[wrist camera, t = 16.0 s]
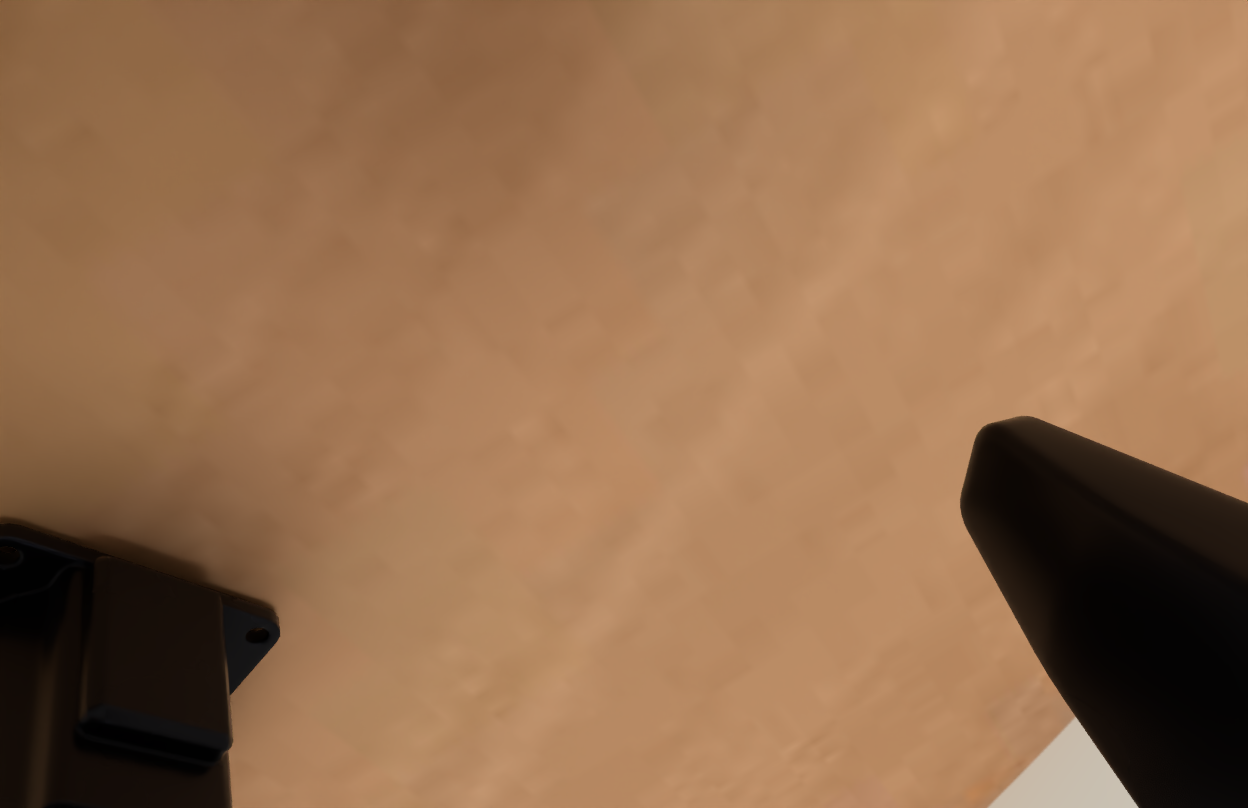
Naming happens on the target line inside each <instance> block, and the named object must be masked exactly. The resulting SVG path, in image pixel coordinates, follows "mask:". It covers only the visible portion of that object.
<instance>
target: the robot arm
mask: <svg viewBox="0 0 1248 808" xmlns="http://www.w3.org/2000/svg"><path fill="white" fill-rule="evenodd" d="M960 508H961V514H962V518H963V521H964V524H965V526H966V528H967V530H968V532H969V534H970V536H971V537H972V539H973V541H974V543H975V545H976V547H977V548H978V550H979V552H980V554H981V556H982V557H983V559H984V561H985V563H986V565H987V567H988V568H989V570H990V572H991V574H992V576H993V577H994V579H995V581H996V583H997V585H998V587H999V588H1000V590H1001V592H1002V594H1003V596H1004V597H1005V599H1006V601H1007V603H1008V605H1009V607H1010V608H1011V610H1012V612H1013V614H1014V616H1015V618H1016V619H1017V621H1018V623H1019V625H1020V627H1021V628H1022V630H1023V632H1024V634H1025V636H1026V638H1027V639H1028V641H1029V643H1030V645H1031V647H1032V648H1033V650H1034V652H1035V654H1036V655H1037V657H1038V659H1039V660H1040V662H1041V664H1042V666H1043V667H1044V669H1045V671H1046V672H1047V674H1048V676H1049V677H1050V679H1051V680H1052V682H1053V683H1054V685H1055V686H1056V688H1057V689H1058V691H1059V693H1060V694H1061V696H1062V697H1063V699H1064V700H1065V702H1066V703H1067V705H1068V706H1069V707H1070V709H1071V710H1072V712H1073V713H1074V715H1075V716H1076V718H1077V719H1078V720H1079V722H1080V723H1081V725H1082V726H1083V728H1084V729H1085V731H1086V732H1087V734H1088V735H1089V736H1090V738H1091V739H1092V741H1093V742H1094V743H1095V745H1096V746H1097V748H1098V749H1099V751H1100V752H1101V754H1102V755H1103V757H1104V758H1105V760H1106V761H1107V762H1108V764H1109V765H1110V767H1111V768H1112V770H1113V771H1114V773H1115V774H1116V775H1117V777H1118V778H1119V780H1120V781H1121V783H1122V784H1123V785H1124V787H1125V789H1126V790H1127V791H1128V793H1129V794H1130V796H1131V797H1132V799H1133V800H1134V802H1135V803H1136V804H1137V806H1138V807H1139V808H1248V503H1246V502H1244V501H1241V500H1239V499H1236V498H1234V497H1231V496H1229V495H1226V494H1224V493H1221V492H1219V491H1216V490H1214V489H1211V488H1209V487H1206V486H1204V485H1201V484H1199V483H1196V482H1194V481H1191V480H1189V479H1186V478H1184V477H1181V476H1179V475H1176V474H1174V473H1171V472H1169V471H1167V470H1164V469H1162V468H1159V467H1157V466H1154V465H1152V464H1149V463H1147V462H1144V461H1142V460H1139V459H1137V458H1134V457H1132V456H1129V455H1127V454H1124V453H1122V452H1119V451H1117V450H1114V449H1112V448H1109V447H1107V446H1104V445H1102V444H1099V443H1097V442H1094V441H1092V440H1090V439H1087V438H1085V437H1082V436H1080V435H1077V434H1075V433H1072V432H1070V431H1067V430H1065V429H1062V428H1060V427H1057V426H1055V425H1052V424H1050V423H1047V422H1045V421H1042V420H1040V419H1037V418H1034V417H1030V416H1019V417H1015V418H1011V419H1007V420H1002V421H998V422H994V423H990V424H987V425H986V426H984V427H983V428H982V429H981V430H980V431H979V432H978V434H977V436H976V438H975V441H974V445H973V449H972V453H971V457H970V461H969V465H968V469H967V473H966V477H965V481H964V484H963V488H962V492H961V498H960ZM0 547H12V548H14V549H16V550H17V551H15V552H10V553H5V552H0V808H232V796H231V782H230V768H229V754H228V750H229V749H230V748H231V747H232V743H233V732H232V719H231V706H230V695H231V694H232V693H233V692H234V690H235V689H236V688H237V687H238V686H239V685H240V684H241V682H242V681H243V680H244V679H245V678H246V677H247V676H248V674H249V673H250V672H251V671H252V670H253V669H254V667H255V666H256V665H257V664H258V663H259V662H260V661H261V659H262V658H263V657H264V656H265V655H266V654H267V653H268V651H269V650H270V649H271V648H272V647H273V646H274V645H275V643H276V642H277V641H278V639H279V637H280V626H279V619H278V616H277V615H276V613H275V612H274V611H272V610H270V609H268V608H265V607H262V606H259V605H256V604H253V603H250V602H247V601H245V600H242V599H239V598H236V597H233V596H230V595H227V594H224V593H221V592H218V591H215V590H212V589H209V588H206V587H203V586H200V585H197V584H194V583H191V582H188V581H185V580H182V579H179V578H176V577H173V576H170V575H167V574H164V573H161V572H158V571H155V570H152V569H149V568H146V567H143V566H140V565H137V564H134V563H131V562H128V561H125V560H122V559H119V558H116V557H113V556H110V555H107V554H104V553H101V552H98V551H95V550H92V549H89V548H86V547H83V546H80V545H77V544H74V543H71V542H68V541H65V540H62V539H59V538H57V537H54V536H51V535H48V534H45V533H42V532H39V531H36V530H33V529H30V528H27V527H24V526H21V525H15V524H10V523H9V524H0ZM255 628H263V629H262V630H258V631H250V630H251V629H255Z"/></svg>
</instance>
